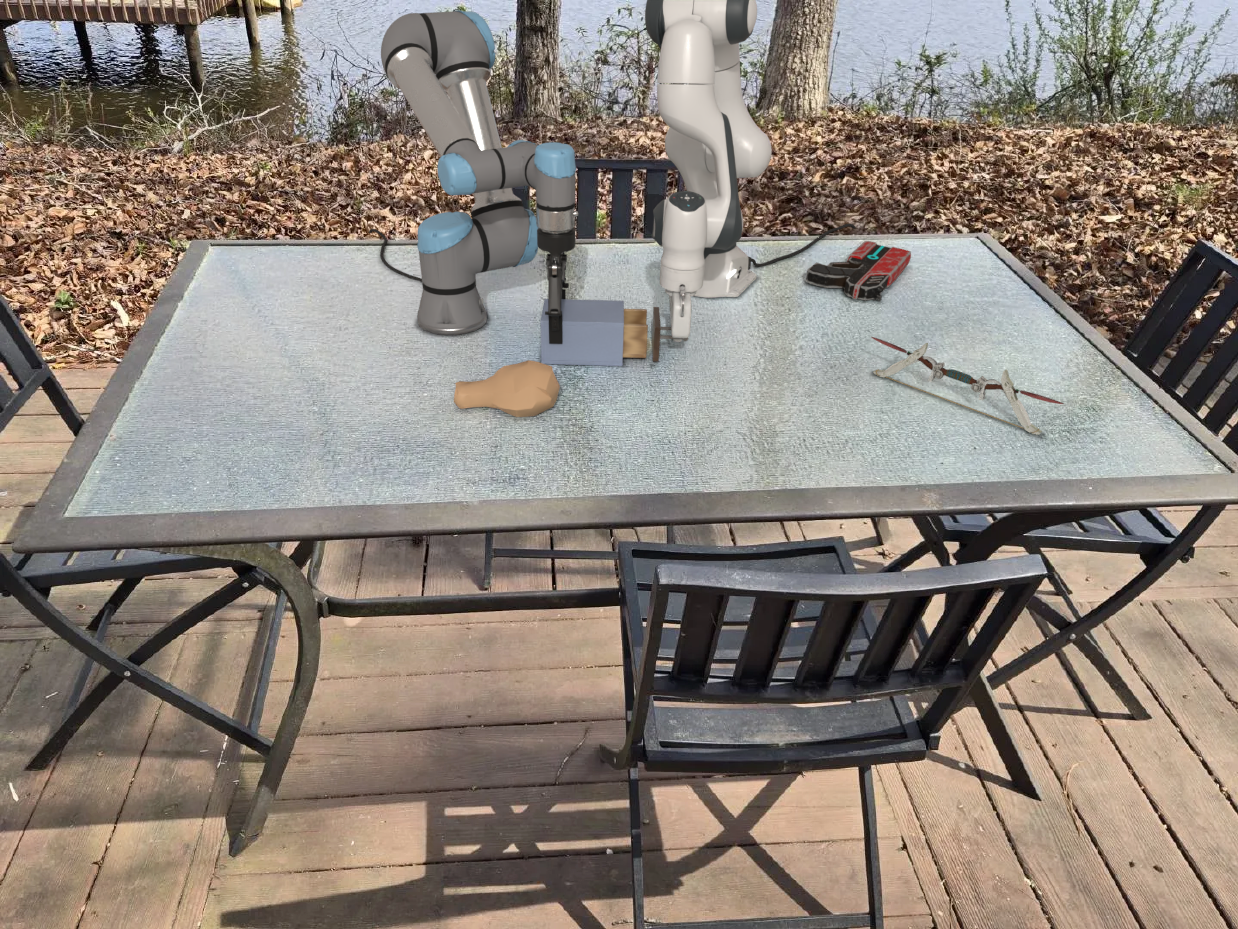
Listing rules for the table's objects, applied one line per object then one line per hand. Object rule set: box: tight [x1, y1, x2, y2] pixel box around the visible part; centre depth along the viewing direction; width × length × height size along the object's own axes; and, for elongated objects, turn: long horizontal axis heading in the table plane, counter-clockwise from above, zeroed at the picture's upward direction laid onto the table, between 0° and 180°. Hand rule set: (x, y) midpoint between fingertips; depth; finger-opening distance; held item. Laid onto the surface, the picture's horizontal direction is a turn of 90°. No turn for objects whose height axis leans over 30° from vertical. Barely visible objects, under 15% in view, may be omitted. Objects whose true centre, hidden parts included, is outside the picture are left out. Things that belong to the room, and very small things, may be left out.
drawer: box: [623, 306, 689, 362], centre depth 183 cm, size 22×10×8 cm, turn 90°
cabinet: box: [540, 298, 625, 367], centre depth 183 cm, size 17×11×10 cm
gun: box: [805, 240, 912, 302], centre depth 224 cm, size 4×31×19 cm
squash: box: [453, 359, 561, 418], centre depth 163 cm, size 11×20×9 cm, turn 90°
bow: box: [870, 336, 1065, 436], centre depth 169 cm, size 39×2×10 cm, turn 47°
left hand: (557, 330), depth 183 cm, fingers closed on cabinet, 11 cm apart
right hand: (677, 338), depth 184 cm, fingers closed, pressing on drawer
